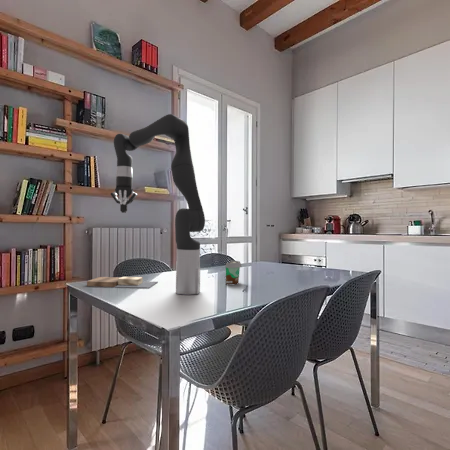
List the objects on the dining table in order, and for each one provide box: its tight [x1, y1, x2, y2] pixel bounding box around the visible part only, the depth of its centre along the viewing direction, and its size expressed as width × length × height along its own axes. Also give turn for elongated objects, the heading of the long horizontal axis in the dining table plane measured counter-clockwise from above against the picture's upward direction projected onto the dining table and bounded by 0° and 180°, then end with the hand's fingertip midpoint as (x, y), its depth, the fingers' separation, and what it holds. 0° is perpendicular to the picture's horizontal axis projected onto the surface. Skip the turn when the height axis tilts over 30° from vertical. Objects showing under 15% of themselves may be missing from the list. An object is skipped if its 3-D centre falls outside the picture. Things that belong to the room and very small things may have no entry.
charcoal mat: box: [114, 280, 159, 289], centre depth 144 cm, size 14×14×1 cm
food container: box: [225, 260, 242, 285], centre depth 153 cm, size 12×6×10 cm, turn 168°
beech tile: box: [118, 276, 144, 285], centre depth 144 cm, size 9×6×2 cm, turn 87°
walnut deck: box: [86, 276, 121, 288], centre depth 144 cm, size 12×12×2 cm
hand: (123, 212), depth 158 cm, fingers closed
